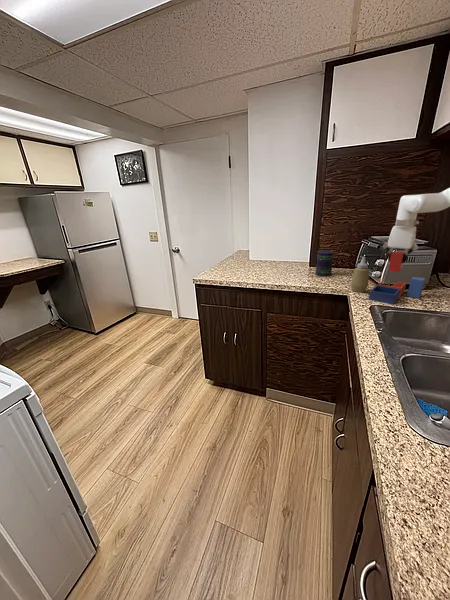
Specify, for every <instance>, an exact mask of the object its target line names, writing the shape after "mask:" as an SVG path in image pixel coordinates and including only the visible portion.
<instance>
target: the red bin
mask: <svg viewBox="0 0 450 600" xmlns="http://www.w3.org/2000/svg"><path fill="white" fill-rule="evenodd" d="M397 282H398V284H393V285H391V286H388V285H382V282H381V281H380V282H379V283H378V284H377V285H378V286H384V287H389V288H395V289H400V294H399V298H400V297H401V296H402V295H403V294H404V293H405V291H406V286H407V282H404V281H403V282H402V281H397Z"/></svg>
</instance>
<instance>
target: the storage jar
mask: <svg viewBox="0 0 450 600" xmlns="http://www.w3.org/2000/svg"><path fill="white" fill-rule="evenodd" d="M334 253H335V251H333V250H327V249H323V250H317V254H316V265H315V276H318V277H330V276H332V271H333V260H334Z"/></svg>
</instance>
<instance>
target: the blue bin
mask: <svg viewBox="0 0 450 600" xmlns="http://www.w3.org/2000/svg"><path fill="white" fill-rule="evenodd" d="M399 294H400V289H395V288H389V287H384V286H378V284H377V285H375V286H374V287H373V288H371V289H370V290H369V295H368V300H371V301H375V302H380V303H384V304H389V305H394V304H395V303H396V302H397V300H399V298H400V297H399Z"/></svg>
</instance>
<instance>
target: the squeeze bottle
mask: <svg viewBox="0 0 450 600" xmlns="http://www.w3.org/2000/svg"><path fill="white" fill-rule="evenodd" d="M366 262H367V261H366V256H362V257H361V260H360V262H359V263H357V266H356V267H355V268H354V272H353V275H352V279H351V282H350V285H351V288H352V291H353V292H355V293H364V292H366V290H367V289H368V287H369V280H370V279H369V278H370V269H369V267H368V266H369V264H368V263H366Z"/></svg>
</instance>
